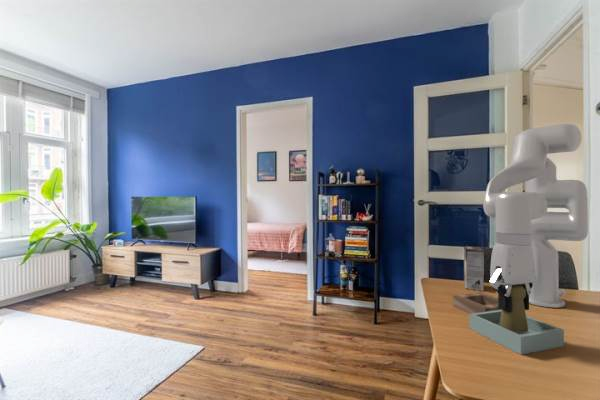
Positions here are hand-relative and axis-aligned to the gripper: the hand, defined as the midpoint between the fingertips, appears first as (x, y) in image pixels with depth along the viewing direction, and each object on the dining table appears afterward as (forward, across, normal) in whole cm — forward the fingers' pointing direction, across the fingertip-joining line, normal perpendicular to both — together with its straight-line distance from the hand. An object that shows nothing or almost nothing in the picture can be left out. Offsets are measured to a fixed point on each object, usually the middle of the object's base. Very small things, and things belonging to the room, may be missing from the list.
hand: (513, 308), depth 74 cm
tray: (+7, 0, 0) cm, 7 cm away
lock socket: (+7, -8, -16) cm, 19 cm away
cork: (+5, 0, 0) cm, 5 cm away
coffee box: (+8, -27, -37) cm, 46 cm away
